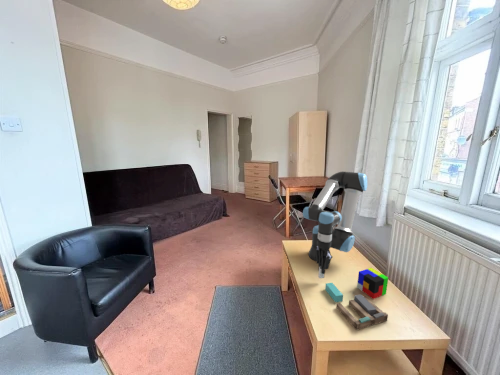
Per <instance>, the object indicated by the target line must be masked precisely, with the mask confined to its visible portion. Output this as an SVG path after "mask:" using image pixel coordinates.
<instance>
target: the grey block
mask: <svg viewBox="0 0 500 375" xmlns="http://www.w3.org/2000/svg"><path fill="white" fill-rule="evenodd" d="M353 300H354V301H355V302H357V303H358V304H359V305H360V306H361V307H362V308H363V309H364V310H365V311H366V312H367V313H368V314H369V315H371V316H373V315H374V314H376V308H375V307H374V306H372V305H371V304H370V303H369V302H368V301H367V300H366V299H365V298H364V296H363V295H362V294H355V295H354V296H353Z"/></svg>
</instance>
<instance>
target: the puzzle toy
mask: <svg viewBox="0 0 500 375" xmlns="http://www.w3.org/2000/svg"><path fill="white" fill-rule="evenodd" d="M388 284H389V277H388V276H386V275H385V274H383V273H382V272H379V271H378V270H376V269H375V268H372V267H369V268H366V269H362V270H360V271H358V276H357V282H356V285H357V286H356V288H357V289H359V290H360V291H361V292H362V293H364V294H366V295H367V296H368V297H370V298H371V299H372V300H375V299H377V298H379V297H381V296H384V295H386V294H387V291H388V289H387V288H388Z"/></svg>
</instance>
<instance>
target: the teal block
mask: <svg viewBox="0 0 500 375" xmlns="http://www.w3.org/2000/svg"><path fill="white" fill-rule="evenodd" d="M324 290H325V291H326V293H327V294H328V295H329V296H330V297H331V299H332V300H333V301H334V303H341V302H344V301H343V300H344V293H342V292H341V291H340V290H339V288H338V287H337V286H336V285H335V284H334V283H333V282H327V283H325V287H324Z"/></svg>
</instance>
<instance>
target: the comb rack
mask: <svg viewBox="0 0 500 375" xmlns="http://www.w3.org/2000/svg"><path fill="white" fill-rule="evenodd" d="M363 297H364V298H365V299H366V300H367V301H368V302H369V303H370V304H371V305H372V306H374V307H375V308H376V314H374V315H373V316H371V315H369V314H368V313H367V312H366V311H365V310H364V309H363V308H362V307H361V306H360V305H359V304H358V303H357V302H355V301H354V299H349V300H348V306H349V307H350V308H351V309H352V310H353V311H354V312H355V313H356V314H357V315H358V316H360V317H361V318H358V320H357V318H355V316H354V315H352V314H351V313H350V311H348V309H347V308H346V307H345V306H344V305H343V304H342V303H341V302H336V307H335V308H336V310H337V311H339V313H340V314H341V315H342V317H344V318H345V319H346V320H347V322H348V323H350V324H351V326H352V327H353V328H354V329H355V331H358V330H361V329H364V328H367V327H371V326H373V325H377V324H380V323H383V322H386V321H388V318H389V315H388V313H387V312H384V311H383V310H382V309H381V308H380V307H378V306H377V305H376V304H375V303H373V302H372V301H371V299H369V298H367V296H363Z"/></svg>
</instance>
